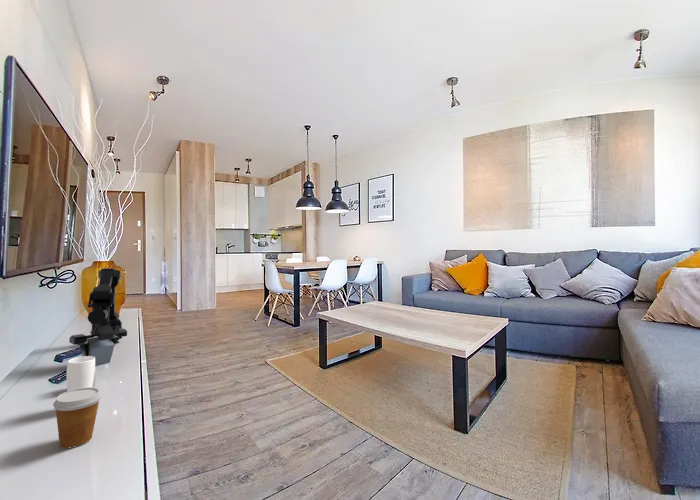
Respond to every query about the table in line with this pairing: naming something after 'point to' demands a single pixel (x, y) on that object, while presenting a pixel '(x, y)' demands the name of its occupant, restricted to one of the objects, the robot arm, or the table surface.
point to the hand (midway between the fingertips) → (98, 356)
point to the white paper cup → (80, 372)
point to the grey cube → (100, 350)
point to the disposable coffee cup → (76, 415)
